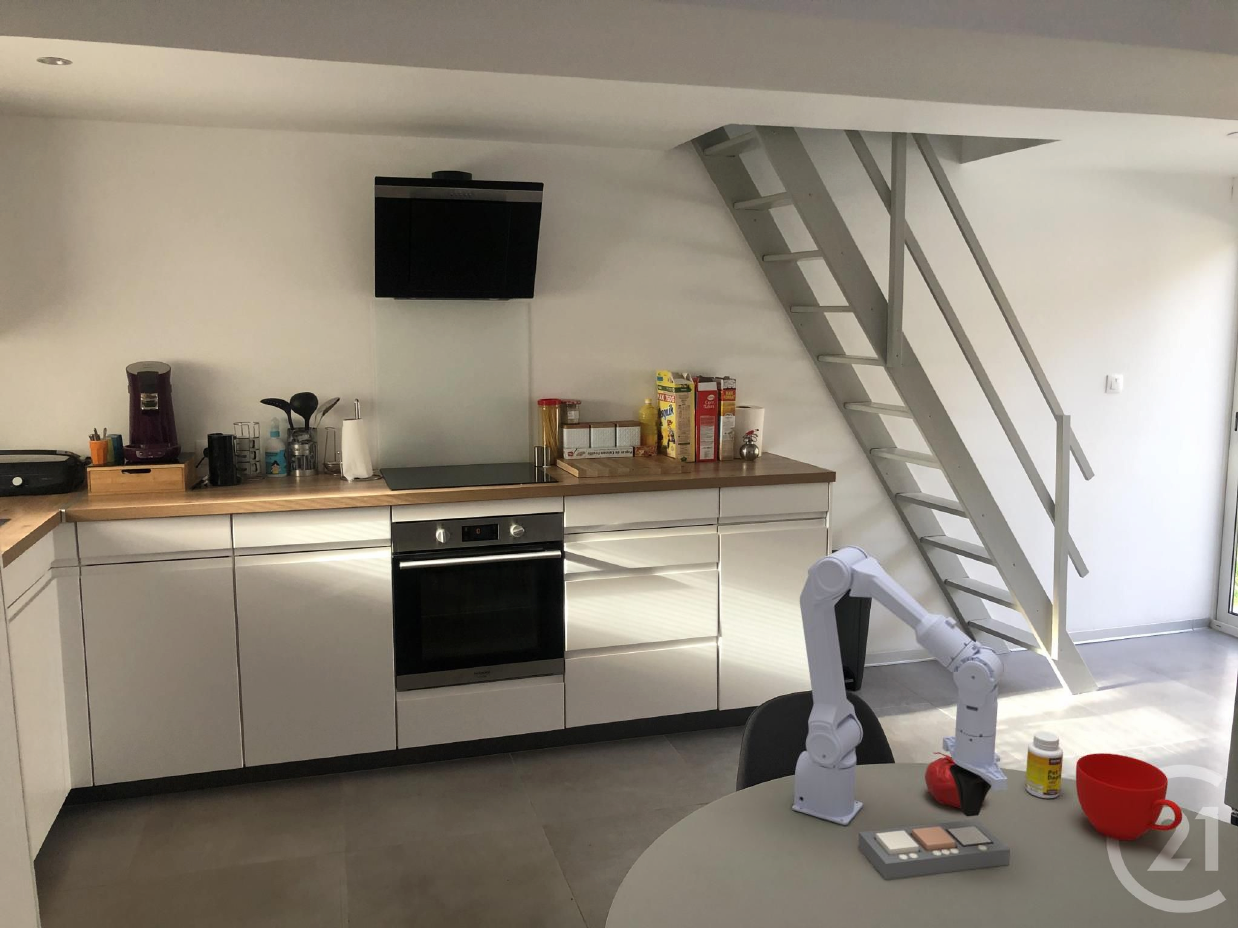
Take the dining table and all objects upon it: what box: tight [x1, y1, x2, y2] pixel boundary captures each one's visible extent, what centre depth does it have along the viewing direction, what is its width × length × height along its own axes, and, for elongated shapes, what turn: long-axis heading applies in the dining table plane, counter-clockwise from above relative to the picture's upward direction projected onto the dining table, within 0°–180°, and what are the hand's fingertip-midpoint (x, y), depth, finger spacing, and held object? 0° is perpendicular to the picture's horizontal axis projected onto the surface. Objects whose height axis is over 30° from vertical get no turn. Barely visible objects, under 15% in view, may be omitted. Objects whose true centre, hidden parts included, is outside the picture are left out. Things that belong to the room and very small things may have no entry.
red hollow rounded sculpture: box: [924, 751, 961, 809], centre depth 167 cm, size 10×10×9 cm
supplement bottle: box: [1024, 731, 1064, 799], centre depth 169 cm, size 6×6×10 cm
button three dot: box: [912, 826, 956, 851], centre depth 149 cm, size 5×5×2 cm
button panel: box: [857, 818, 1011, 881], centre depth 150 cm, size 20×9×3 cm, turn 102°
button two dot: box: [876, 830, 919, 856], centre depth 148 cm, size 5×5×2 cm
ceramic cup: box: [1075, 752, 1183, 841], centre depth 155 cm, size 13×17×10 cm
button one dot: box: [948, 826, 991, 847], centre depth 151 cm, size 5×5×2 cm
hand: (970, 813), depth 150 cm, fingers closed
